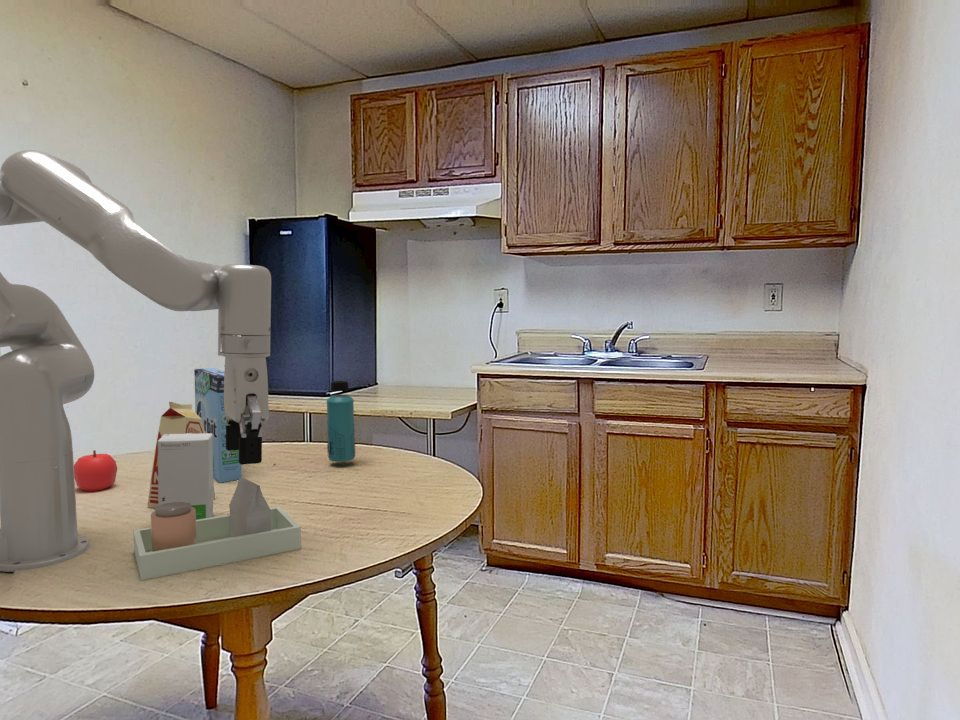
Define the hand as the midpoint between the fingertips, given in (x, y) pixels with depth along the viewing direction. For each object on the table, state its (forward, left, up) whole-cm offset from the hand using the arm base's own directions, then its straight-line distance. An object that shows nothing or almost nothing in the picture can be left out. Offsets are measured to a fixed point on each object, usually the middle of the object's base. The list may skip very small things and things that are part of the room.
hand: (243, 456), depth 102 cm
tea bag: (+1, 0, -14) cm, 14 cm away
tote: (-4, 0, -15) cm, 15 cm away
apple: (-19, +51, -15) cm, 56 cm away
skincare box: (-6, +17, -15) cm, 23 cm away
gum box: (+5, +51, -15) cm, 53 cm away
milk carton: (-5, +31, -15) cm, 34 cm away
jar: (-10, 0, -14) cm, 17 cm away
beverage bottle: (+31, +43, -15) cm, 55 cm away
